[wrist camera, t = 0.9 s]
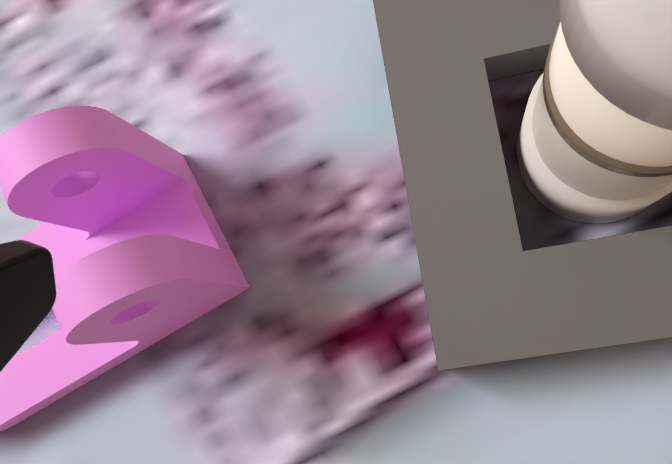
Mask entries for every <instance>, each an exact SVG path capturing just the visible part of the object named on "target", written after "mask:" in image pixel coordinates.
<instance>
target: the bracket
mask: <svg viewBox="0 0 672 464" xmlns="http://www.w3.org/2000/svg"><path fill="white" fill-rule="evenodd" d="M0 188H1V190H2V193H3V195H4V197H5V200H6V202H7V204H8V207H9V208H10V210H11V211H12V212H13V213H15V214H17V215H19V216H22V217H26V218H30V219H35V220H39V221H43V222H44V223H42V224H41V225H39V226H38V227H36V228H34V229H33V230H31V231H29V232H28V233H26V234H25V235H23V236H21V237H20V238H18V239H17V240H25V241H29V242H32V243H34V244H37V245H40V246H42V247H45V248H46V249H48V250H49V252H50V253H51V255H52V259H53V268H54V276H55V284H56V300H55V303H54V305H53V307H52V309H53V311H54V314H55V316H56V318H57V321H58V323H59V325H60V329H59V330H58V331H56V332H55V333H53V334H51V335H50V336H48V337H46V338H45V339H43V340H41V341H39V342H38V343H36V344H34V345H33V346H31V347H29V348H28V349H26V350H24V351H23V352H21V353H19V354H18V355H16V356H14V357H13V358H12V359H11V360H10V361H9V362H8V364H7V365H6V366H5V367H4V368H3V370H2V371H1V372H0V431H3V430H6V429H8V428H10V427H12V426H14V425H16V424H18V423H19V422H21V421H23V420H24V419H26V418H28V417H30V416H31V415H33V414H35V413H36V412H38V411H40V410H42V409H43V408H45V407H47V406H48V405H50V404H52V403H54V402H55V401H57V400H59V399H60V398H62V397H64V396H66V395H67V394H69V393H71V392H72V391H74V390H76V389H77V388H79V387H81V386H83V385H84V384H86V383H88V382H89V381H91V380H93V379H95V378H96V377H98V376H100V375H101V374H103V373H105V372H107V371H108V370H110V369H112V368H113V367H115V366H117V365H119V364H120V363H122V362H124V361H125V360H127V359H129V358H131V357H132V356H134V355H136V354H137V353H139V352H141V351H143V350H144V349H146V348H148V347H149V346H151V345H153V344H155V343H156V342H158V341H160V340H161V339H163V338H165V337H166V336H168V335H170V334H172V333H173V332H175V331H177V330H178V329H180V328H182V327H184V326H185V325H187V324H189V323H190V322H192V321H194V320H196V319H197V318H199V317H201V316H202V315H204V314H206V313H208V312H209V311H211V310H213V309H214V308H216V307H218V306H220V305H221V304H223V303H225V302H226V301H228V300H230V299H232V298H233V297H235V296H237V295H238V294H240V293H242V292H243V291H245V290H247V289H249V288H250V286H249V284H248V282H247V280H246V278H245V276H244V274H243V272H242V270H241V268H240V266H239V264H238V262H237V260H236V258H235V256H234V254H233V252H232V250H231V248H230V246H229V244H228V242H227V240H226V238H225V236H224V234H223V233H222V231H221V229H220V227H219V225H218V223H217V221H216V219H215V217H214V215H213V213H212V211H211V209H210V207H209V205H208V203H207V201H206V199H205V197H204V195H203V193H202V191H201V189H200V187H199V185H198V183H197V181H196V179H195V178H194V176H193V174H192V172H191V170H190V168H189V166H188V164H187V162H186V160H185V158H184V156H183V154H181V153H179V152H178V151H176V150H174V149H173V148H171V147H169V146H167V145H166V144H164V143H162V142H160V141H159V140H157V139H155V138H154V137H152V136H150V135H148V134H147V133H145V132H143V131H141V130H140V129H138V128H136V127H135V126H133V125H131V124H129V123H128V122H126V121H124V120H123V119H121V118H119V117H117V116H116V115H114V114H112V113H110V112H109V111H107V110H104V109H101V108H97V107H91V106H73V107H65V108H59V109H54V110H51V111H47V112H44V113H41V114H38V115H36V116H33V117H31V118H29V119H26V120H24V121H22V122H21V123H19V124H17V125H16V126H14V127H12V128H11V129H10V130H8V131H7V132H6V133H4V134H3V135H2V136H1V137H0ZM17 240H15V241H17Z"/></svg>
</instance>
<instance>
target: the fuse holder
mask: <svg viewBox="0 0 672 464" xmlns="http://www.w3.org/2000/svg"><path fill="white" fill-rule="evenodd" d="M373 3H374V9H375V15H376V20H377V26H378V32H379V37H380V43H381V49H382V54H383V60H384V66H385V71H386V77H387V83H388V88H389V94H390V100H391V105H392V111H393V117H394V122H395V128H396V134H397V139H398V145H399V151H400V156H401V162H402V168H403V173H404V179H405V185H406V190H407V196H408V202H409V207H410V213H411V218H412V224H413V230H414V235H415V241H416V247H417V252H418V258H419V264H420V269H421V275H422V281H423V286H424V292H425V298H426V303H427V309H428V315H429V320H430V326H431V332H432V337H433V343H434V349H435V354H436V360H437V366H438V370H445V369H452V368H459V367H466V366H473V365H480V364H487V363H494V362H501V361H508V360H515V359H522V358H529V357H536V356H543V355H550V354H557V353H564V352H571V351H578V350H585V349H592V348H599V347H606V346H613V345H620V344H627V343H634V342H641V341H648V340H655V339H662V338H669V337H672V226H667V227H661V228H655V229H649V230H643V231H638V232H632V233H626V234H620V235H614V236H609V237H603V238H597V239H591V240H585V241H579V242H574V243H568V244H562V245H556V246H550V247H545V248H539V249H533V250H527V251H523V249H522V244H521V239H520V234H519V230H518V225H517V220H516V215H515V210H514V205H513V200H512V195H511V190H510V185H509V181H508V176H507V171H506V166H505V161H504V156H503V151H502V146H501V141H500V137H499V132H498V127H497V122H496V117H495V112H494V107H493V102H492V97H491V92H490V88H489V83H488V81H490V80H495V79H499V78H504V77H508V76H513V75H518V74H522V73H527V72H531V71H536V70H540V69H544V66H545V62H546V59H547V55H548V52H549V49H550V45H551V42H552V39H553V37H554V35H555V32H556V30H557V28H558V26H559V24H560V14H559V0H373Z"/></svg>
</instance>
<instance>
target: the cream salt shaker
mask: <svg viewBox="0 0 672 464" xmlns="http://www.w3.org/2000/svg"><path fill="white" fill-rule="evenodd" d="M559 14H560V24H559V26H558V28H557V30H556V32H555V35H554V37H553V39H552V42H551V45H550V49H549V52H548V55H547V59H546V62H545V66H544V72H543V74H542V75H541V76H540V77H539V79H538V81H537V82H536V84H535V85H534V87H533V89H532V92H531V94H530V96H529V99H528V103H527V106H526V110H525V114H524V117H523V121H522V124H521V128H520V132H519V135H518V141H517V160H518V166H519V170H520V173H521V176H522V178H523V180H524V182H525V184H526V186H527V187H528V189H529V191H530V192H531V193H532V194H533V195H534V197H535V198H536V199H537V200H538V201H539V202H540V203H541V204H542V205H544V206H545V207H546V208H548V209H549V210H551V211H552V212H554V213H556V214H558V215H560V216H562V217H565V218H567V219H570V220H574V221H577V222H583V223H598V224H601V223H610V222H615V221H619V220H622V219H625V218H628V217H630V216H632V215H634V214H636V213H638V212H640V211H642V210H643V209H645V208H646V207H648V206H650V205H651V204H653V203H655V202H656V201H658V200H659V199H661V198H663V197H664V196H666V195H667V194H669V193H671V192H672V0H559Z"/></svg>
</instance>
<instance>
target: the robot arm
mask: <svg viewBox="0 0 672 464" xmlns="http://www.w3.org/2000/svg"><path fill="white" fill-rule="evenodd" d="M55 300H56V284H55V276H54V268H53V259H52V255H51V253H50V252H49V250H48V249H46V248H45V247H42V246H40V245H37V244H34V243H32V242H29V241H25V240H17V241H12V242H8V243H3V244H0V372H1V371H2V370H3V368H4V367H5V366H6V365H7V364H8V362H9V361H10V360H11V359H12V357H13V356H14V355H15V354H16V352H17V351H18V350H19V349H20V348H21V346H22V345H23V344H24V343H25V341H26V340H27V339H28V338H29V336H30V335H31V334H32V333H33V332H34V330H35V329H36V328H37V327H38V325H39V324H40V323H41V322H42V321H43V319H44V318H45V317H46V316H47V314H48V313H49V312H50V310H51V309H52V307H53V305H54V303H55Z"/></svg>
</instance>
